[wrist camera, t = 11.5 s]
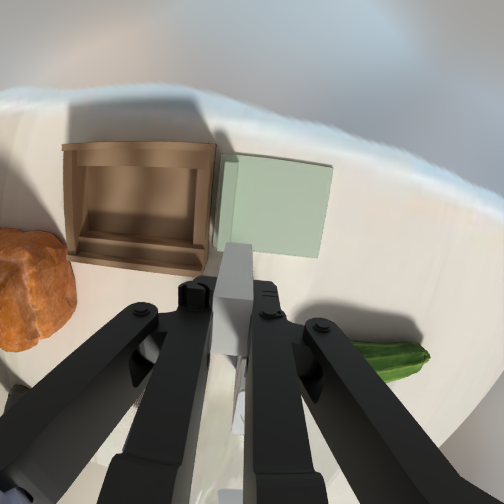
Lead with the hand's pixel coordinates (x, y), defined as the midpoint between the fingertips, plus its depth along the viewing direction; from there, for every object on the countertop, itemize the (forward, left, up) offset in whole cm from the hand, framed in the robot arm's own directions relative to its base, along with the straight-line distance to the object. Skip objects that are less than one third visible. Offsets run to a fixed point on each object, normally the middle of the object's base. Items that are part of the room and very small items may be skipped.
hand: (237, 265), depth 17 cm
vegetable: (+20, -18, -16) cm, 31 cm away
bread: (-35, -11, -16) cm, 41 cm away
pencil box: (-12, 0, -16) cm, 20 cm away
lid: (+3, +1, -16) cm, 17 cm away
